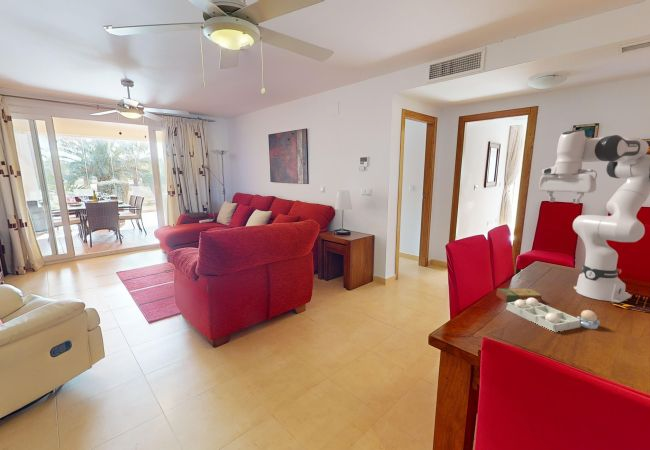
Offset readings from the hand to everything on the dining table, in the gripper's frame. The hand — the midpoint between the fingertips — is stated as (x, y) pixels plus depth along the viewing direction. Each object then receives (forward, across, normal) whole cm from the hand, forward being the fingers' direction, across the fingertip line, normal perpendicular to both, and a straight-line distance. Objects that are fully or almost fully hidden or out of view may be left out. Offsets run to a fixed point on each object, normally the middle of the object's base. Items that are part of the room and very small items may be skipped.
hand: (563, 202), depth 124 cm
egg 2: (+46, -1, +14) cm, 48 cm away
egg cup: (+46, -18, +7) cm, 50 cm away
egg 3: (+46, -14, +21) cm, 52 cm away
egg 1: (+46, -1, +20) cm, 50 cm away
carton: (+47, +9, +8) cm, 49 cm away
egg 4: (+45, -18, +7) cm, 49 cm away
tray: (+46, -7, +17) cm, 50 cm away
